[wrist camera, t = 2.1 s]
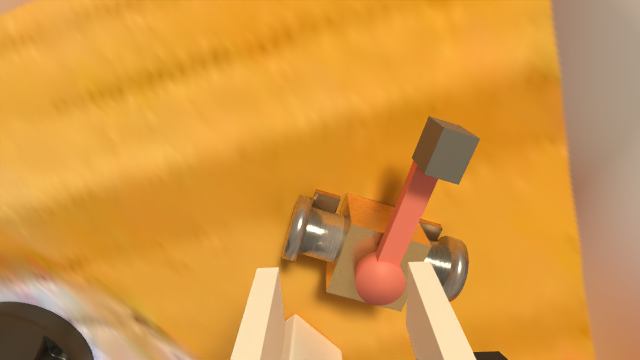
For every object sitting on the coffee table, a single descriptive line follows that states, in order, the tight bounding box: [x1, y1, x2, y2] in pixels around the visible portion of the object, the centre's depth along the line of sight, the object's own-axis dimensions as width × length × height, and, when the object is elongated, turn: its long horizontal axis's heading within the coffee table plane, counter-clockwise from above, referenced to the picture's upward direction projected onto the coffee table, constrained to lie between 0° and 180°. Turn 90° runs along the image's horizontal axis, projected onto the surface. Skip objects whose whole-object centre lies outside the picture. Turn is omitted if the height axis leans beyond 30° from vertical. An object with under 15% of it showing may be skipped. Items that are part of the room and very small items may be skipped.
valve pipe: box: [282, 189, 469, 311], centre depth 35 cm, size 16×7×6 cm, turn 73°
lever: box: [354, 116, 480, 305], centre depth 28 cm, size 16×4×4 cm, turn 163°
